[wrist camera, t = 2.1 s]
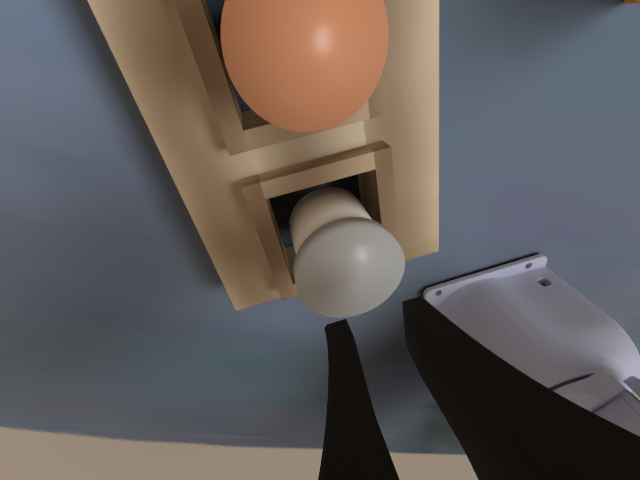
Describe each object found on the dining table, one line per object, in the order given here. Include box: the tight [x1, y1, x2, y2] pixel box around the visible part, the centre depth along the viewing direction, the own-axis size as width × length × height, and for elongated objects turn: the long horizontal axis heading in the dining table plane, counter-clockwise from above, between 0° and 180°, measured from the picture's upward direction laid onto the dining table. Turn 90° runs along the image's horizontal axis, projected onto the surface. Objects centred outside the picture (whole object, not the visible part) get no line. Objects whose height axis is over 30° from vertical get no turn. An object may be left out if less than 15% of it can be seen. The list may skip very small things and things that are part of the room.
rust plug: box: [221, 0, 389, 132], centre depth 11 cm, size 4×4×4 cm
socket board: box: [87, 0, 439, 311], centre depth 15 cm, size 12×16×4 cm
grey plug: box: [289, 187, 405, 318], centre depth 15 cm, size 4×4×4 cm
